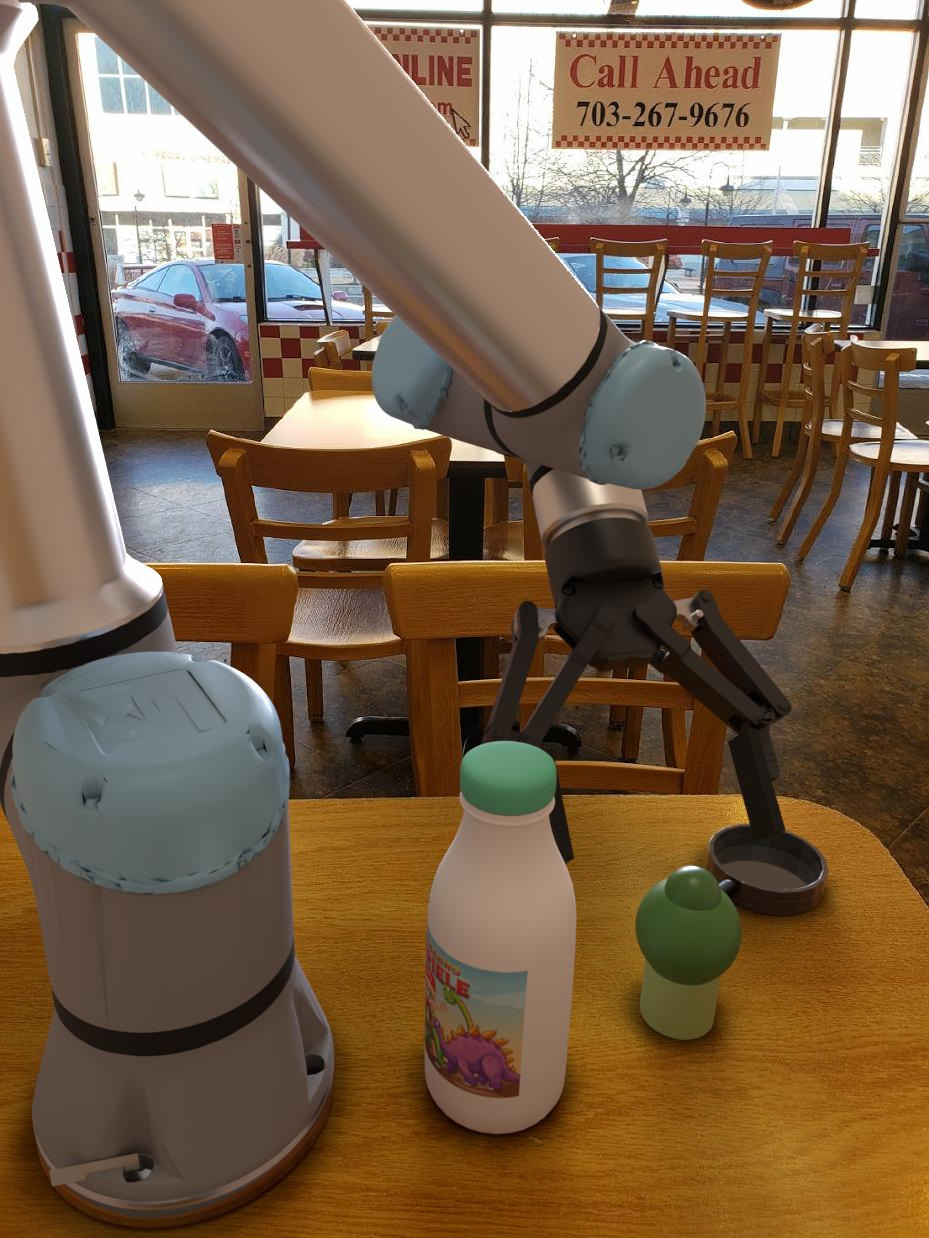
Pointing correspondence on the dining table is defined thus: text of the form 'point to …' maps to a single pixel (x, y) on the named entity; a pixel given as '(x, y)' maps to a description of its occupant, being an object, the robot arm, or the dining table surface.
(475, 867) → the milk bottle
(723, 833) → the pan
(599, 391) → the robot arm
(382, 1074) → the dining table surface
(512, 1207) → the dining table surface
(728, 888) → the pan handle
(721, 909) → the broccoli
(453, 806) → the dining table surface
